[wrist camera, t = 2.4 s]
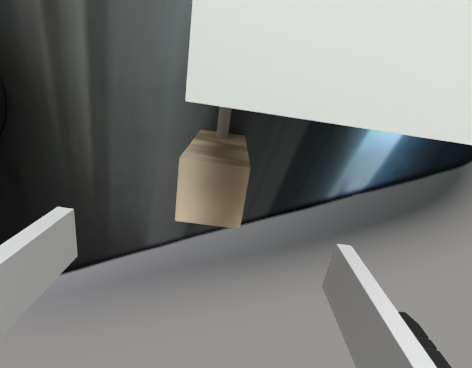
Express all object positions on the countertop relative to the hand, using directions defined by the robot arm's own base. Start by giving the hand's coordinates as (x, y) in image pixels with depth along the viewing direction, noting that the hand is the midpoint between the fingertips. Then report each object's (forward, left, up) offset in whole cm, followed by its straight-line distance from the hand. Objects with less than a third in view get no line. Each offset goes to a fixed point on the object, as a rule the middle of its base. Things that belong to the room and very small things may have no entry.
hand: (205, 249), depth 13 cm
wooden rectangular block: (0, +5, -18) cm, 19 cm away
